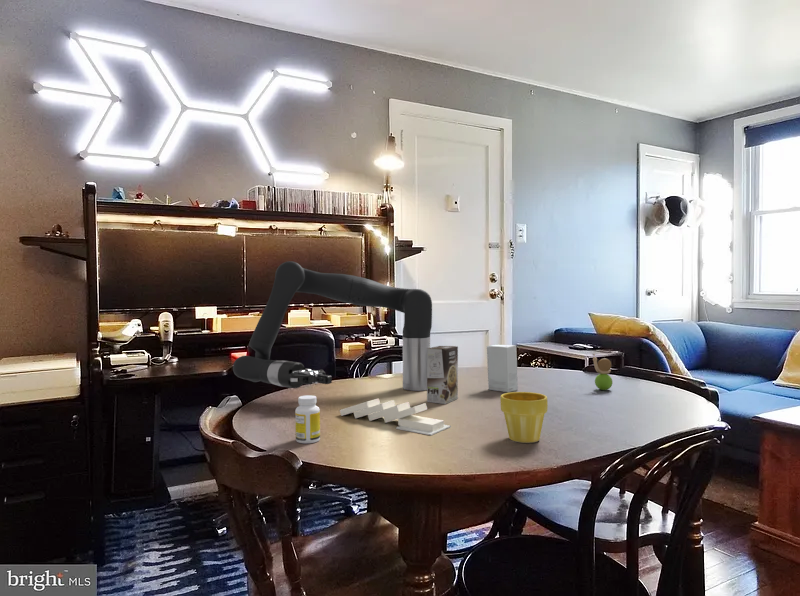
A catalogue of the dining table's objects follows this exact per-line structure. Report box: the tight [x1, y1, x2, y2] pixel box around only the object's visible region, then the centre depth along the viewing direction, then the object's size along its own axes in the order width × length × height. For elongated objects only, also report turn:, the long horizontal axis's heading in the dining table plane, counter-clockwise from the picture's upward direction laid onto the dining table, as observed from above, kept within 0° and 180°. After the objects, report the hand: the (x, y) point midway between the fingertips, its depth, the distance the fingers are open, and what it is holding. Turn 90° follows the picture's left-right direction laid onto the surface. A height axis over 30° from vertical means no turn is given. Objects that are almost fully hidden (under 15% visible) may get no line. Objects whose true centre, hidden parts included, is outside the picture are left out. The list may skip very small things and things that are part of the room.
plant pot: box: [499, 391, 549, 444], centre depth 121 cm, size 10×10×10 cm
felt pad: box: [395, 424, 452, 436], centre depth 131 cm, size 10×9×1 cm
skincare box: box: [486, 344, 519, 393], centre depth 177 cm, size 8×6×15 cm
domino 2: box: [353, 399, 396, 419], centre depth 140 cm, size 2×5×10 cm
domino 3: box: [367, 401, 411, 422], centre depth 137 cm, size 2×5×10 cm
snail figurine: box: [592, 353, 613, 391], centre depth 177 cm, size 5×6×12 cm
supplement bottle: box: [294, 395, 321, 444], centre depth 121 cm, size 5×5×10 cm
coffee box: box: [426, 345, 459, 405], centre depth 162 cm, size 9×6×16 cm
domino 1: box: [339, 398, 381, 417], centre depth 143 cm, size 2×5×10 cm
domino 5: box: [397, 414, 445, 432], centre depth 131 cm, size 2×5×10 cm
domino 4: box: [383, 402, 428, 424], centre depth 134 cm, size 2×5×10 cm
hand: (329, 379), depth 149 cm, fingers closed
